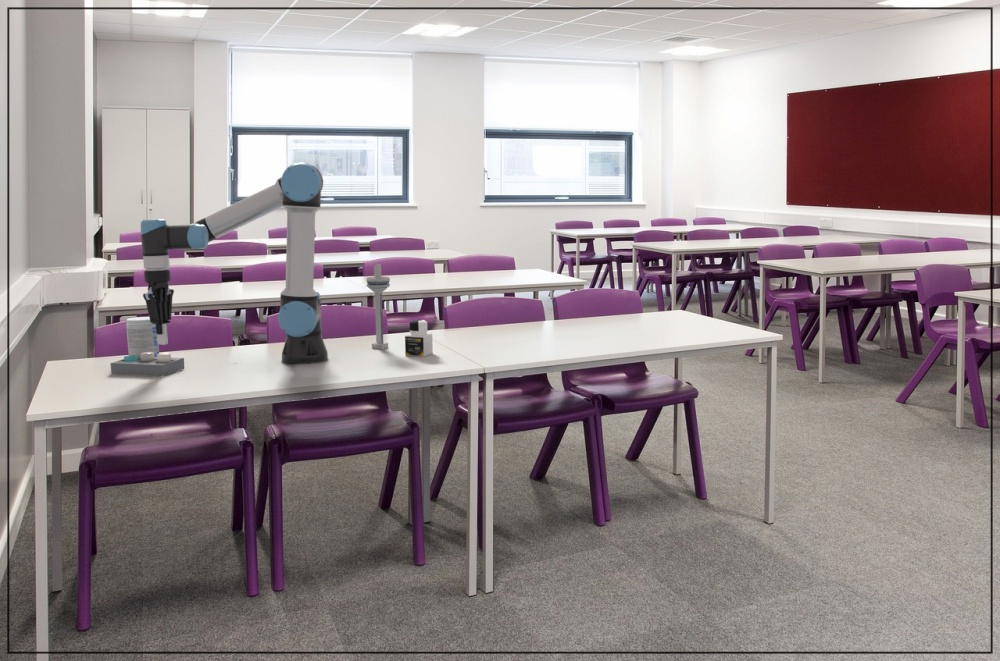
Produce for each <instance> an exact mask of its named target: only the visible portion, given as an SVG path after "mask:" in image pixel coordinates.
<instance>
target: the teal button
mask: <svg viewBox="0 0 1000 661" xmlns="http://www.w3.org/2000/svg"><path fill="white" fill-rule="evenodd" d="M123 359H124V361H132V362H133V361H136V360H138V356H136V355H130V356H129V355H125V356H124V357H123Z"/></svg>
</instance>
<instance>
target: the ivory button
mask: <svg viewBox="0 0 1000 661" xmlns="http://www.w3.org/2000/svg"><path fill="white" fill-rule="evenodd" d="M157 357H158V363H168V362H171V357H172V354H171V352H159V354H157Z"/></svg>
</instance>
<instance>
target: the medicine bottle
mask: <svg viewBox="0 0 1000 661" xmlns="http://www.w3.org/2000/svg"><path fill="white" fill-rule="evenodd" d="M404 347H405V348H404V350H405V352H404V353H405V356H406V357H418V358H425V357H426V356H430V355H432V354H433V353H434V352H433V347H434V346H433V333H431V332H428V321H426V320H424V319H414V320H411V321H410V322H409V334H406V335H405V336H404Z"/></svg>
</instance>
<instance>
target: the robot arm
mask: <svg viewBox="0 0 1000 661" xmlns="http://www.w3.org/2000/svg"><path fill="white" fill-rule="evenodd" d="M323 188H324V179H323V175H322V173H321V172H320V170H319V169H318V168H317V167H315V166H314V165H311V164H309V163H306V162H296V163H293V164H290V165H289V166H287V167H286V169H285V170H284V171H283V173H282V175H281V177H279V178H277V179H276V181H275V183H273V184H272V185H270V186H268V187H266V188H264V189H262V190H259V191H257V192H256V193H254V194H252V195H250V196H247V197H245V198H243V199H241V200H239V201H236V202H234V203H233V204H231V205H229V206H226V207H224V208H222V209H221V210H218V211H216V212H214V213H212V214H210V215H207V216H205V217H203V218H201V219H199V220H197V221H195V222H193V223H189V224H178V225H177V224H176V225H175V224H173V225H171V224H170V225H169V224H167V221H166V219H164V218H153V219H152V218H150V219H148V218H147V219H142V220H141V221H140V240H141V249H142V260H143V262H142V263H143V268H144V269H145V270H144V271H143V278H144V282H145V283H147V284H148V285H147V292H146V293H143V294H142V297H143V299H144V301H145V304H146V309H147V312H148V317H150V322H151V323H152V324H156V333H157V342H158V344H159V345H162V346H165V345H168V344H169V341H168V340H169V339H168V324H170V323H171V320H172V309H173V296H174V293H175V290H174V289H171V288H170V287H169V283H168V282H170V281H171V270H170V269H169V268H170V267H171V266H170V254H169V250H171V251H172V250H200V249H206V248H208V245H209V243H211V242H213V241H215V240H216V239H218V238H220V237H223V236H224V235H227V234H228V233H231V232H233V231H235V230H237V229H239V228H241V227H243V226H246V225H247V224H250V223H252V222H254V221H256V220H258V219H260V218H262V217H264V216H267V215H268V214H270V213H273V212H274V211H277V210H280V209H281V208H283V209H284V210H285V211H286V212H287V216H286V218H287V219H286V247H285V248H286V250H285V251H286V253H285V254H286V257H285V258H286V259H285V288H284V289H282V290H281V292H280V296H279V297H280V299H279V300H280V301H279V305H280V306H279V312H278V314H277V322H278V324H279V327H280V330H282V331H283V332H284V333H285V335H286V336H285V337H286V338H285V342H284V344H283V348H282V351H281V362H283V363H285V364H286V363H287V364H294V365H295V364H299V365H301V364H313V363H314V364H315V363H316V364H317V363H320V362H325V361H327V360H328V359H329V355H328V354H329V353H328V349H327V347H326V344H325V342H324V339H323V336H322V314H321V313H322V311H321V302H322V299H321V295H320V293H319V292H318V291H316V290H315V288H314V272H315V271H314V270H315V269H314V268H315V241H316V240H315V237H316V234H315V232H316V213H317V212H319V210H320V209H321V205H322V204H321V203H322V202H321V200H322V198H321V197H322V195H321V194H322V191H323Z"/></svg>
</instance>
